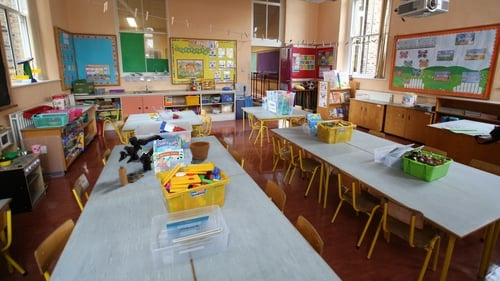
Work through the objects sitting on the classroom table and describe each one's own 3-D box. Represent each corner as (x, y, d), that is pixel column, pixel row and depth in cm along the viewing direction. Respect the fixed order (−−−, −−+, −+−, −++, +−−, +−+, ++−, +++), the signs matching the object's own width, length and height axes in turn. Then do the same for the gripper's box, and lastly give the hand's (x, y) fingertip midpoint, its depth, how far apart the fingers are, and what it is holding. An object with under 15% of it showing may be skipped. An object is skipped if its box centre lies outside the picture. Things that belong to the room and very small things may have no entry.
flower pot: (190, 154, 301) (190, 141, 297) (210, 153, 303) (210, 140, 299) (189, 161, 281) (187, 147, 277) (210, 160, 283) (209, 146, 279)
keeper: (132, 174, 249) (132, 170, 248) (143, 175, 246) (143, 171, 245) (122, 181, 235) (121, 176, 234) (133, 182, 233) (132, 177, 232)
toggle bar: (123, 183, 232) (121, 165, 228) (128, 183, 231) (125, 165, 227) (120, 185, 229) (117, 167, 224) (124, 185, 228) (122, 167, 223)
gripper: (122, 141, 244) (110, 154, 234) (138, 144, 236) (125, 157, 226) (128, 150, 251) (116, 163, 241) (144, 153, 243) (132, 166, 233)
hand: (122, 162), depth 235 cm, fingers open, 9 cm apart
